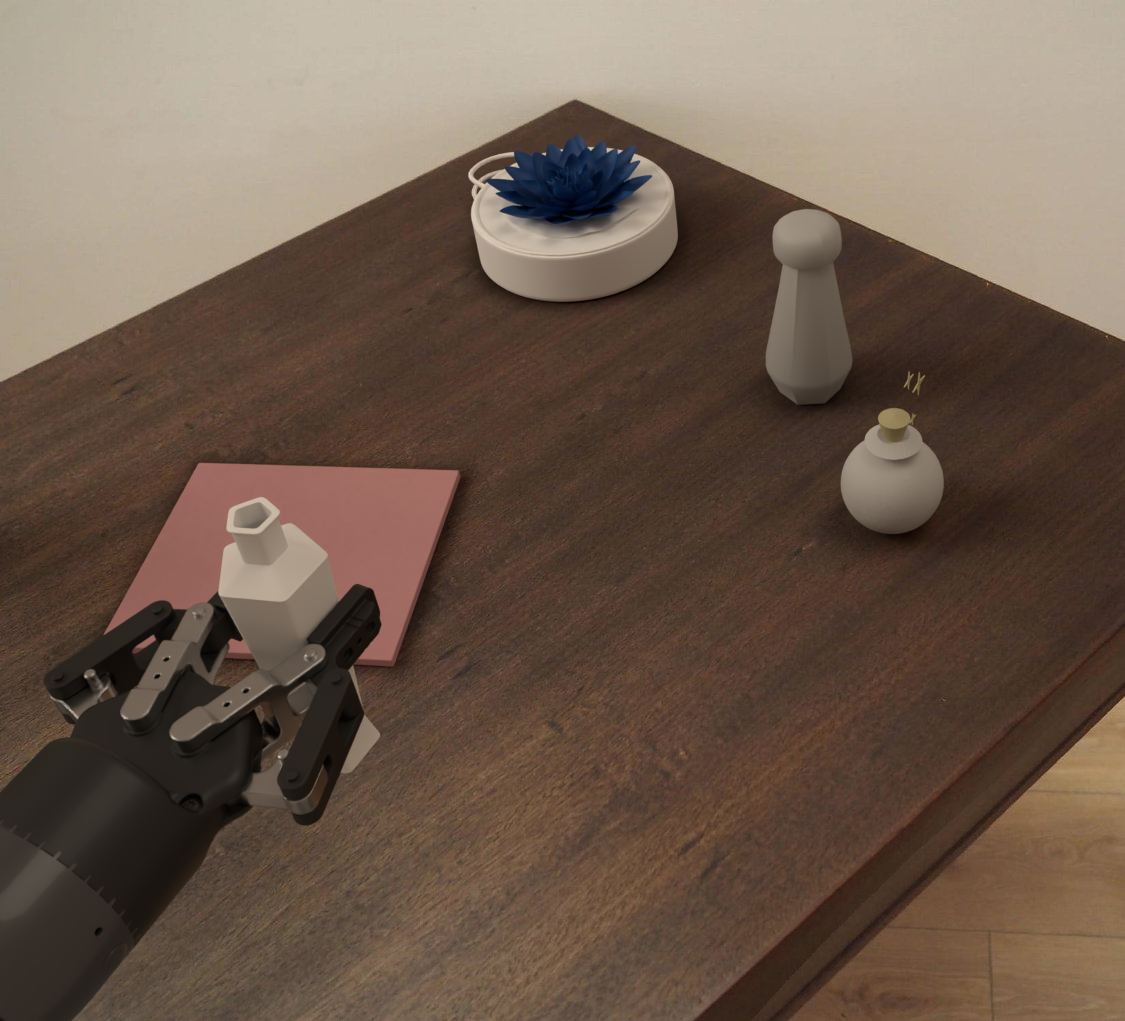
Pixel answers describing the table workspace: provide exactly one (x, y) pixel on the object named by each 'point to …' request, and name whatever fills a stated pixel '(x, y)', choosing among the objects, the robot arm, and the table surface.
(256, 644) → the perfume bottle
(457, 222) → the table surface
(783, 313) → the salt shaker
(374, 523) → the cosmetics mat
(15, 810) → the robot arm
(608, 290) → the box with blue lotus
